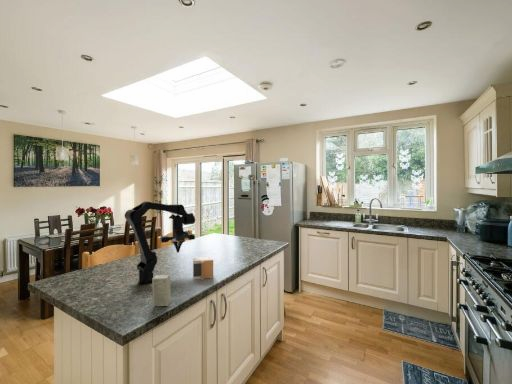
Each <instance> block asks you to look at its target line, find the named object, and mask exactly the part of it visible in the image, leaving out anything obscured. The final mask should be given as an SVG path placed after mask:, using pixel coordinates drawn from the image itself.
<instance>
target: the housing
mask: <svg viewBox="0 0 512 384" xmlns="http://www.w3.org/2000/svg"><path fill="white" fill-rule="evenodd" d="M204 260H211V259H210V256H205V257H193V258H192V279H193V280H201V261H204Z"/></svg>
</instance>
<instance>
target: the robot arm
mask: <svg viewBox="0 0 512 384" xmlns="http://www.w3.org/2000/svg"><path fill="white" fill-rule="evenodd" d="M149 210H155V211H162V212H163V211H164V212H167V213H170V214H171V215H170V216H168V219H169V220H172V236H169V235H161V236H160V237H159V241H160V242H161V243H169V241H170V242H171V244H173V245H174V249H175V250H176V253H177V254H178V253H180V250H181V247H182V245H183V243H185V242H186V240H187V239H188V240H190V241H191V240H196V236H195V234H194V233H192V232H191V233H189V231H188V230H186V231H184V226H189V225H193V224H194V225H195V223H196V218H195V215H194V213H193V212H190V213H188V212H187V211H186V209H185V206H184V205H183V204H177V203H173V204H165V203H164V204H163V203H156V202H152V201H146V200H145V201H143V202H141V203H140V204H138V205H136V206H135V207H133V208H131V209H128V210H126V211H125V213H124V219H125V220H126V222H127V223H128V225H129V226H130V227H131V229H132V232H133V234H134V236H135V240H136V241H137V244H138V245H137V246H138V247H139V251H140V261H139V263H137V265H136V269H137V270H138V280H137V282H138V285H139V286H140V285H141V286H142V285H147V284H152V278H153V277H154V270H155V268H156V265H157V263H158V259H159V257H158V256H157V253H156V251H154V250H152V249H151V247H150V245H149V243H148V239H147V237H146V234H145V231H144V228H143V216H144V215H145V214H147V212H148V211H149ZM185 239H186V240H185Z"/></svg>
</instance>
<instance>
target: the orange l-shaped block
mask: <svg viewBox="0 0 512 384" xmlns="http://www.w3.org/2000/svg"><path fill="white" fill-rule="evenodd" d="M210 278H214V259H210V260H204V261H201V279H200V280H201V281H205V279H210Z"/></svg>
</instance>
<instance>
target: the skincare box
mask: <svg viewBox="0 0 512 384" xmlns="http://www.w3.org/2000/svg"><path fill="white" fill-rule="evenodd" d="M151 285H152V308H156V307H155V306H167V307H169V305H170V303H171V275H170V274H155V275H153V278H152V283H151Z"/></svg>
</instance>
